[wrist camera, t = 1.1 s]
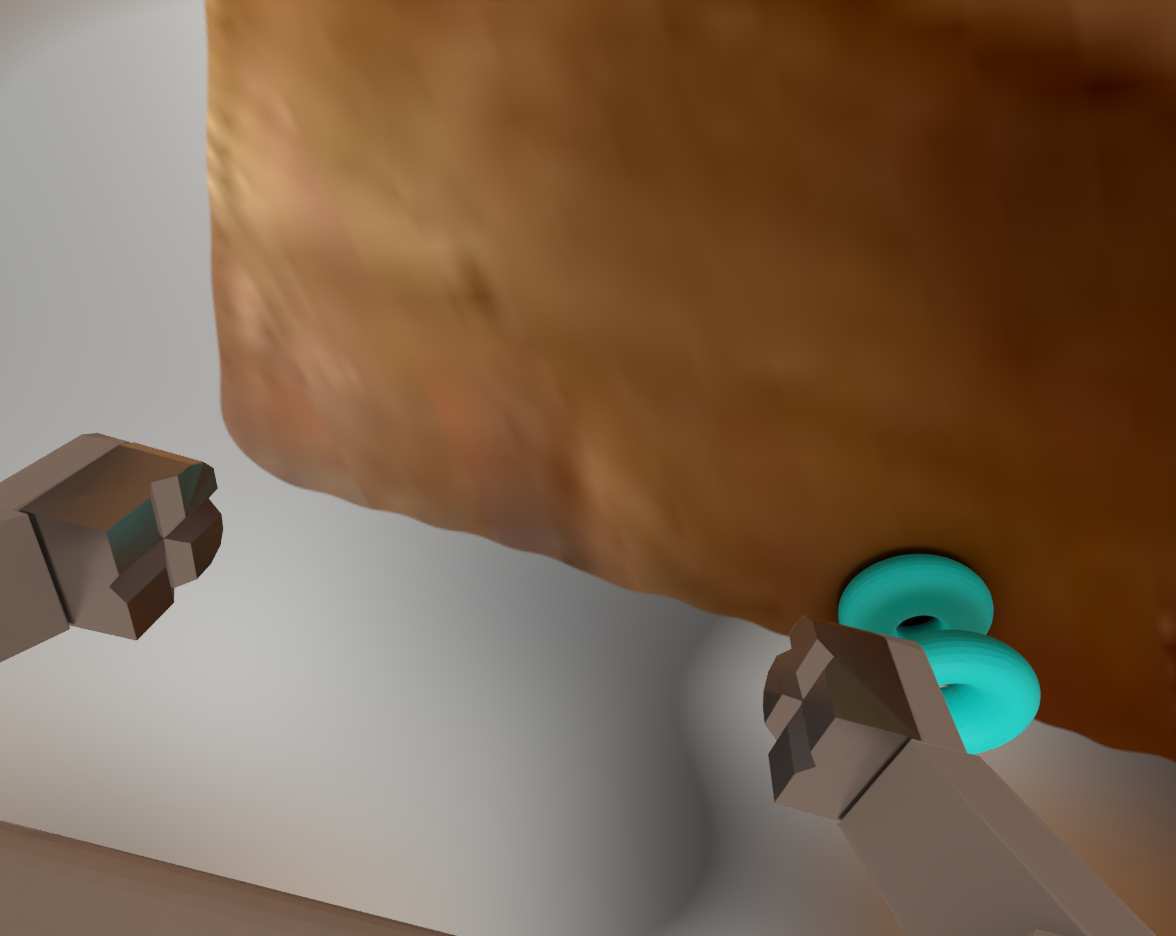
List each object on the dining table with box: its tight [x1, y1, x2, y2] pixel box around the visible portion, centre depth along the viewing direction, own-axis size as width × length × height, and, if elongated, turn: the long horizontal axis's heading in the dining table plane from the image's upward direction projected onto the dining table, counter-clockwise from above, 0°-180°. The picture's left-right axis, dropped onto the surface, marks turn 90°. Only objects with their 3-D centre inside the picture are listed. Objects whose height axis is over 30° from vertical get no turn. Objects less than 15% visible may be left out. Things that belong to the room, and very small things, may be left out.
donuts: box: [838, 554, 1040, 754], centre depth 41 cm, size 10×10×10 cm
